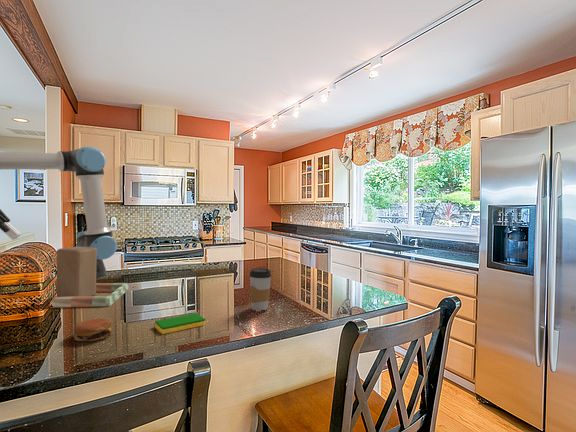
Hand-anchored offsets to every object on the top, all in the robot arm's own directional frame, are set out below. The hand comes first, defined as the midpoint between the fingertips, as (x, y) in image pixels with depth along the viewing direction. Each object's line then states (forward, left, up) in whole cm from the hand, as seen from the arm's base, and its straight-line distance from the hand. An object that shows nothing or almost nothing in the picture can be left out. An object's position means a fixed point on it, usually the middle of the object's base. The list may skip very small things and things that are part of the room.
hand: (16, 236), depth 124 cm
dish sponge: (+35, +65, -25) cm, 78 cm away
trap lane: (0, +27, -24) cm, 36 cm away
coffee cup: (+20, +92, -24) cm, 97 cm away
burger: (+41, +42, -24) cm, 63 cm away
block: (0, +21, -24) cm, 32 cm away
